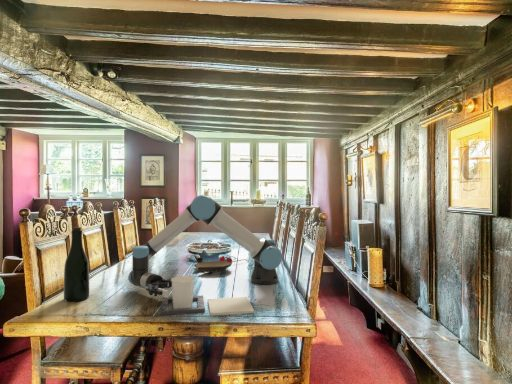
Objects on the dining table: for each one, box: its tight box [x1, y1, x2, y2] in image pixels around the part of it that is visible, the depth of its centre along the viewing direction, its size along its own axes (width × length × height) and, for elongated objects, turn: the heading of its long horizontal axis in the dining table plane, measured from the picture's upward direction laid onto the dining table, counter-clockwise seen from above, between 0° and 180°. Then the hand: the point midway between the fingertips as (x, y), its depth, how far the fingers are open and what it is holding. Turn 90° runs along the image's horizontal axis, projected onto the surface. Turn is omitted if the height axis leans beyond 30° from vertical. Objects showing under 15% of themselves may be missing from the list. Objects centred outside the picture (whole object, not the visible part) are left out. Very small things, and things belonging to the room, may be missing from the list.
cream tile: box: [207, 296, 255, 316], centre depth 149 cm, size 18×18×1 cm
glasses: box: [218, 255, 250, 265], centre depth 240 cm, size 14×16×5 cm
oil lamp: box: [193, 254, 232, 273], centre depth 215 cm, size 22×30×8 cm
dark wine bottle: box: [63, 226, 90, 303], centre depth 158 cm, size 10×10×33 cm
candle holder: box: [171, 275, 195, 309], centre depth 149 cm, size 10×10×12 cm
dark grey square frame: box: [159, 295, 206, 316], centre depth 149 cm, size 18×18×2 cm
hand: (181, 290), depth 149 cm, fingers open, 13 cm apart
